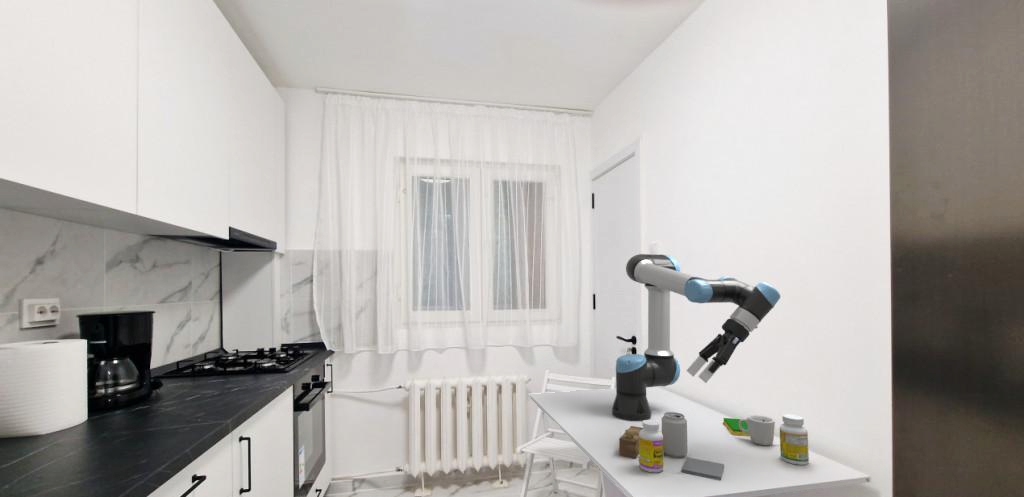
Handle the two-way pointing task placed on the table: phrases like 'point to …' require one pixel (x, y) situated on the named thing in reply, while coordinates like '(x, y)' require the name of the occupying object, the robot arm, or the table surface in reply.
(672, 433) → the can
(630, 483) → the table surface
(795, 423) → the supplement bottle
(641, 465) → the supplement bottle
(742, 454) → the table surface
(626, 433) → the walnut block
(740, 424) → the cup
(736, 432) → the dish sponge
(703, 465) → the trivet
